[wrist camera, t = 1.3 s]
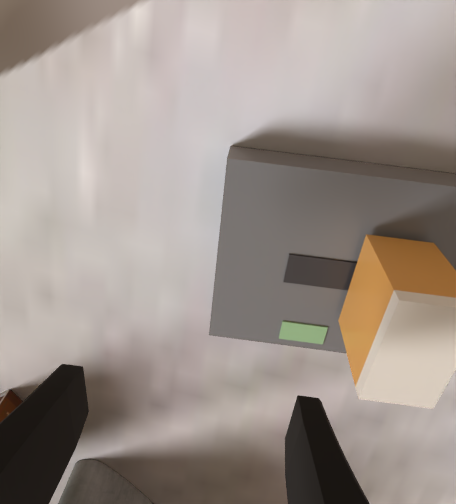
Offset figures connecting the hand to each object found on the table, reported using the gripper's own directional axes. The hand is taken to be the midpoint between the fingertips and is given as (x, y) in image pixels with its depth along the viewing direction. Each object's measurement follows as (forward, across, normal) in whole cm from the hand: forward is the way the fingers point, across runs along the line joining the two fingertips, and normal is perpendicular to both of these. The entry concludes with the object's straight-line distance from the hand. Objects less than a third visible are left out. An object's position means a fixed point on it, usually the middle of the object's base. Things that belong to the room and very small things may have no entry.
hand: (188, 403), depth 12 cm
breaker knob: (+8, -8, 0) cm, 11 cm away
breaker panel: (+10, -8, 0) cm, 13 cm away
